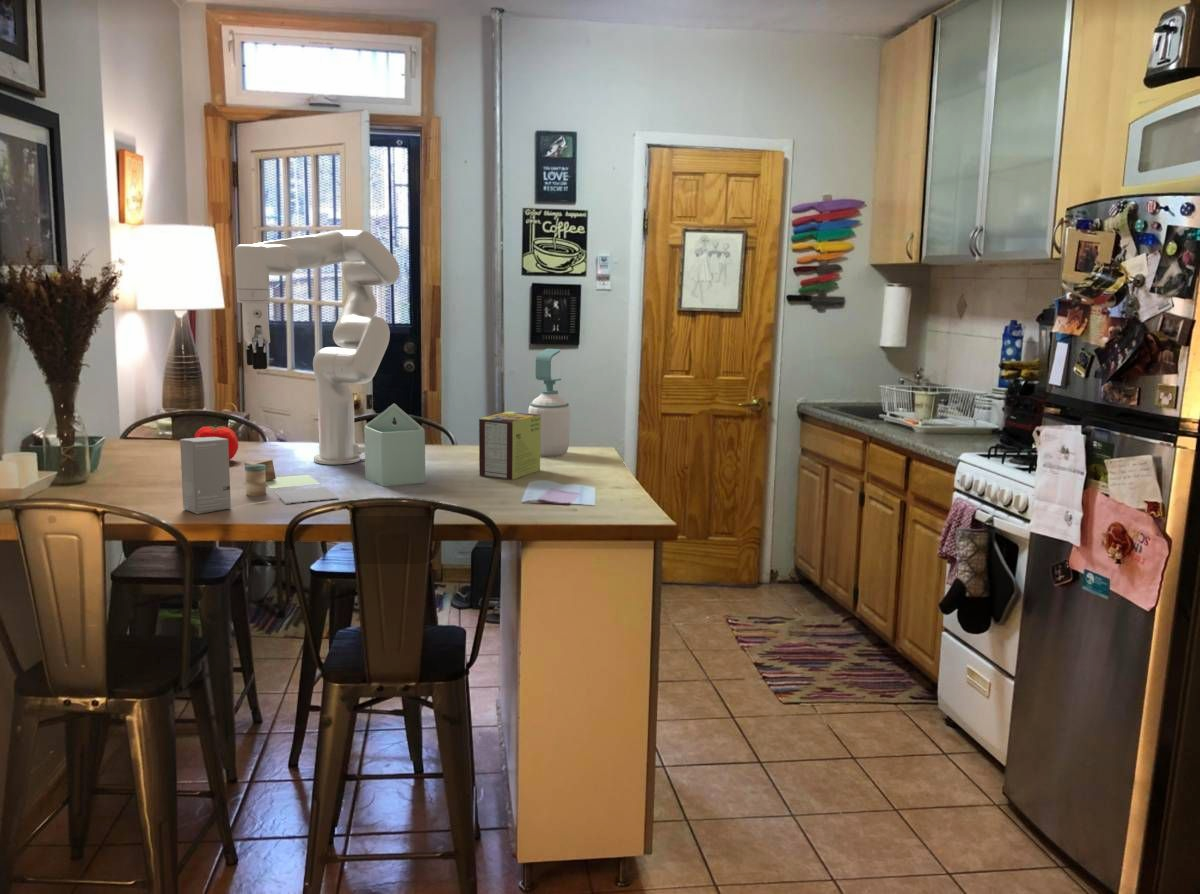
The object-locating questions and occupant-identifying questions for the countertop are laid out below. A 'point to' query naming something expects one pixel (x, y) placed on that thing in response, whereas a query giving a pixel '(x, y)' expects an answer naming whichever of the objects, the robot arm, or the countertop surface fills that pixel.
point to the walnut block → (269, 467)
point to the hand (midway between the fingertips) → (256, 367)
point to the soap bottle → (551, 410)
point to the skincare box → (205, 474)
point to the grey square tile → (305, 495)
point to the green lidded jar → (255, 479)
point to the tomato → (220, 436)
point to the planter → (394, 449)
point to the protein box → (509, 445)
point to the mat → (291, 481)
